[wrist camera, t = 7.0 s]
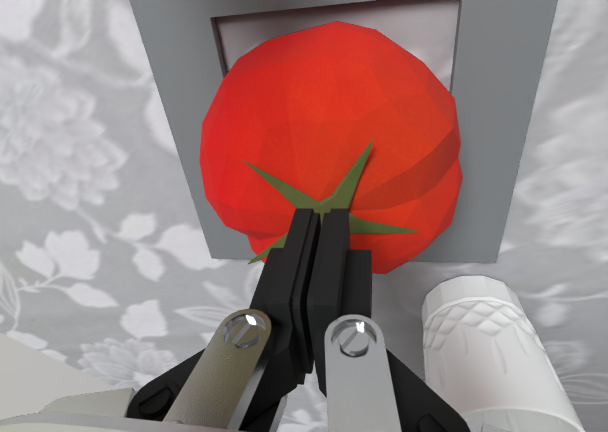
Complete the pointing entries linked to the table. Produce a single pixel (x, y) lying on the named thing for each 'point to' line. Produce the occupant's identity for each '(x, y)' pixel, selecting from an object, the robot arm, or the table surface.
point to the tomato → (333, 142)
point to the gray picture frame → (464, 88)
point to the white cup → (491, 359)
